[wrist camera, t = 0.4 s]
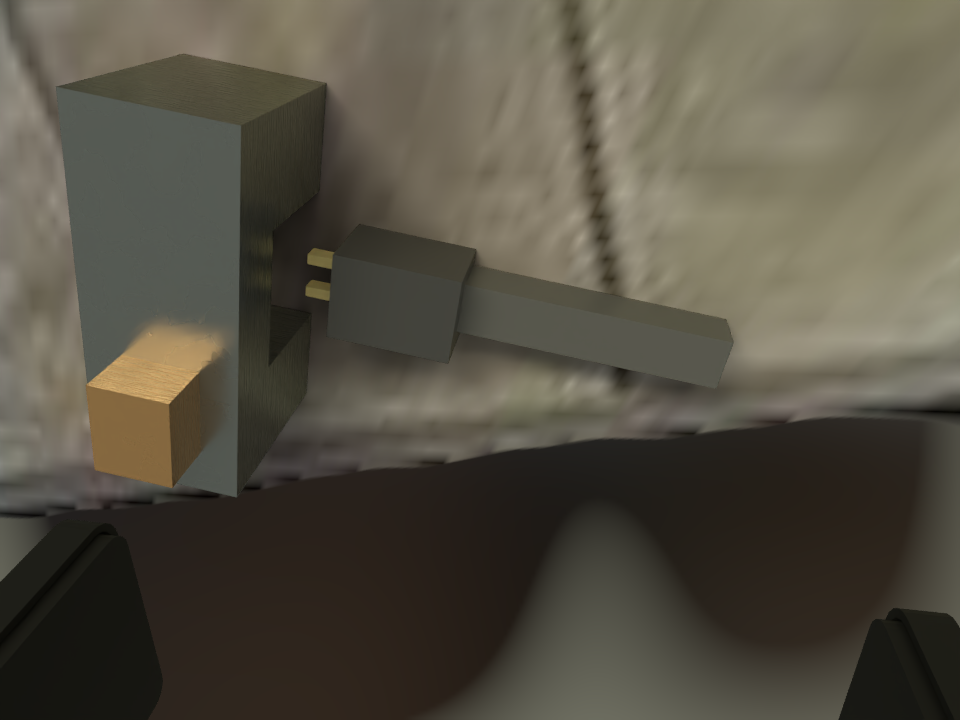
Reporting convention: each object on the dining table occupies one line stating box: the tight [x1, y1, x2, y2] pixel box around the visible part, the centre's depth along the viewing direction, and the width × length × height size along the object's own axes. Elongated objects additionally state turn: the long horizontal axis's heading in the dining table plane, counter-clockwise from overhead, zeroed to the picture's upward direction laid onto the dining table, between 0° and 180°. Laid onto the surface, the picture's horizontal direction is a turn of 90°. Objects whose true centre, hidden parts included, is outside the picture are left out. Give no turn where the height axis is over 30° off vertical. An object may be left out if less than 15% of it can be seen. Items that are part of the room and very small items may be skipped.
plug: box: [305, 224, 734, 389], centre depth 43 cm, size 5×24×5 cm, turn 81°
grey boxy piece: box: [56, 54, 326, 497], centre depth 40 cm, size 20×8×14 cm, turn 171°
